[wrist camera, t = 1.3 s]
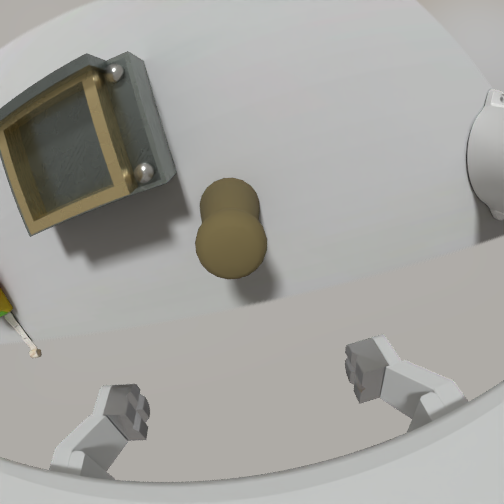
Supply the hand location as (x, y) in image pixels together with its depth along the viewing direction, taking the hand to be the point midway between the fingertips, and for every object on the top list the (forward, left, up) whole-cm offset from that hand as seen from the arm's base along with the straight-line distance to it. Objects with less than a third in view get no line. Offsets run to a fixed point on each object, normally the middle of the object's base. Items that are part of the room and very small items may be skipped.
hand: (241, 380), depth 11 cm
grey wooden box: (+12, -11, -22) cm, 27 cm away
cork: (0, 0, -22) cm, 22 cm away
